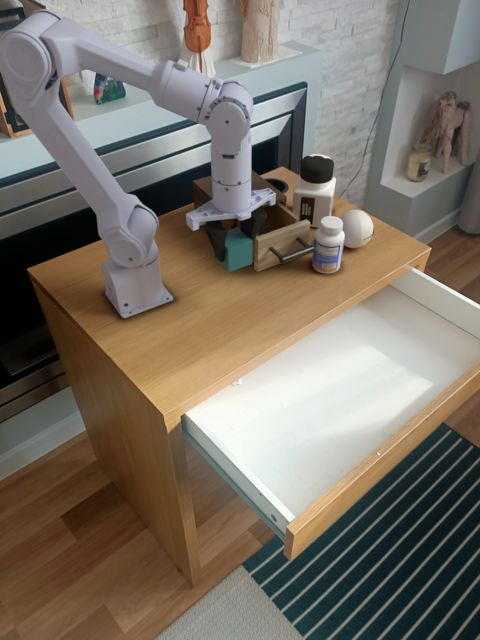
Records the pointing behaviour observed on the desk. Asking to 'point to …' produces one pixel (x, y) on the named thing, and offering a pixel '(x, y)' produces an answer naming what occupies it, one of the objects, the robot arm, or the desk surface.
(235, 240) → the block
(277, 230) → the drawer
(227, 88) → the robot arm
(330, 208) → the container
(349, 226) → the white ball
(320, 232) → the pill bottle
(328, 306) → the desk surface
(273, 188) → the cabinet
